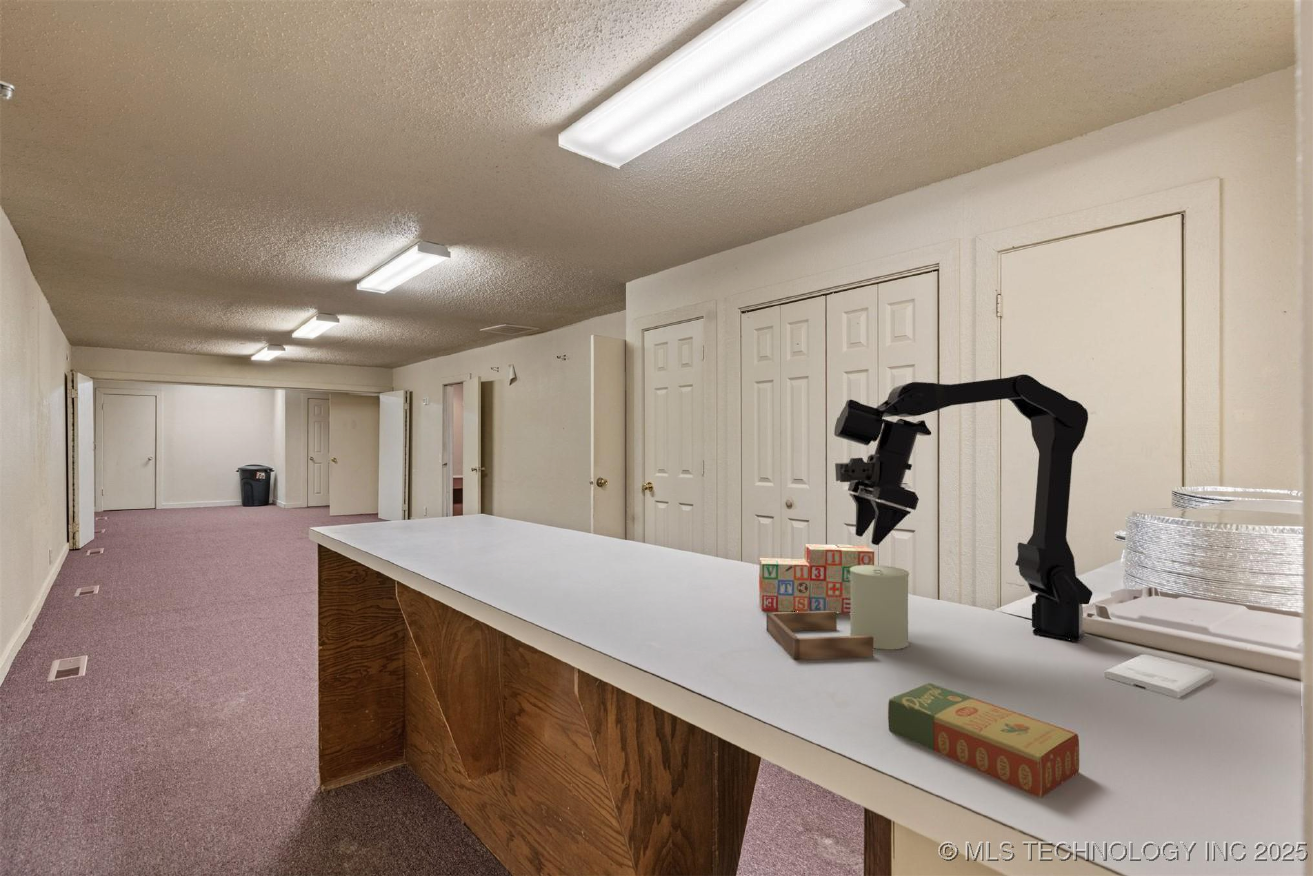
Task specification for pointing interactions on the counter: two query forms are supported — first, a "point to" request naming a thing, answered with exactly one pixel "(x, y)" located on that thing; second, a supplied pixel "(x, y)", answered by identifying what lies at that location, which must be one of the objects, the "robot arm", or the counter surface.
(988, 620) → the counter surface
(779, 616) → the walnut bay
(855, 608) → the can
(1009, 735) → the carton
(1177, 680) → the external hard drive
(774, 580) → the stack of blocks
